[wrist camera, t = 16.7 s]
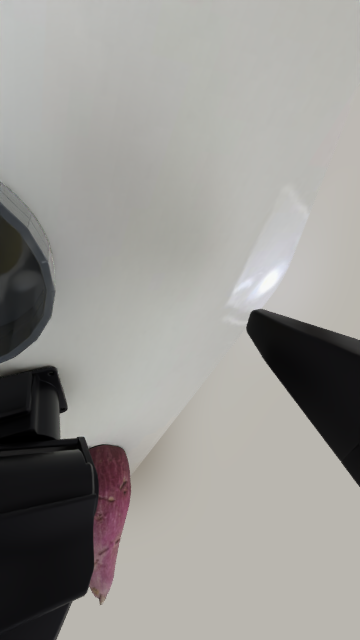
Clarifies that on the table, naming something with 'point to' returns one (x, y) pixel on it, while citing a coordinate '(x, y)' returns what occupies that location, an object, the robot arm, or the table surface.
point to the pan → (23, 276)
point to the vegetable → (109, 514)
